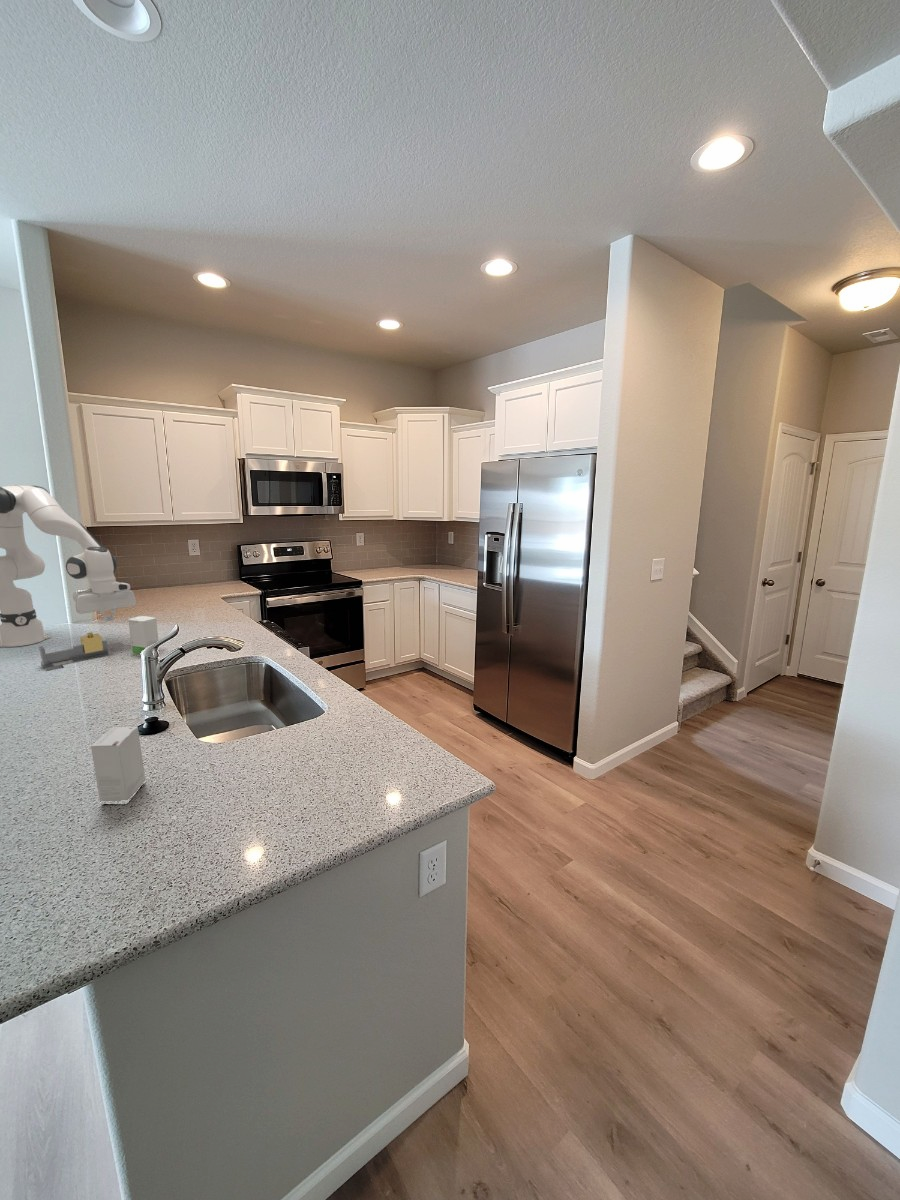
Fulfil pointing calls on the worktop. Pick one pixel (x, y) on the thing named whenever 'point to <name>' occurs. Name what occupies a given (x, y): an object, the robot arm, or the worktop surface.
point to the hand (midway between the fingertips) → (109, 620)
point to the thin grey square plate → (115, 645)
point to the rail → (70, 656)
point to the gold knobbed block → (91, 642)
